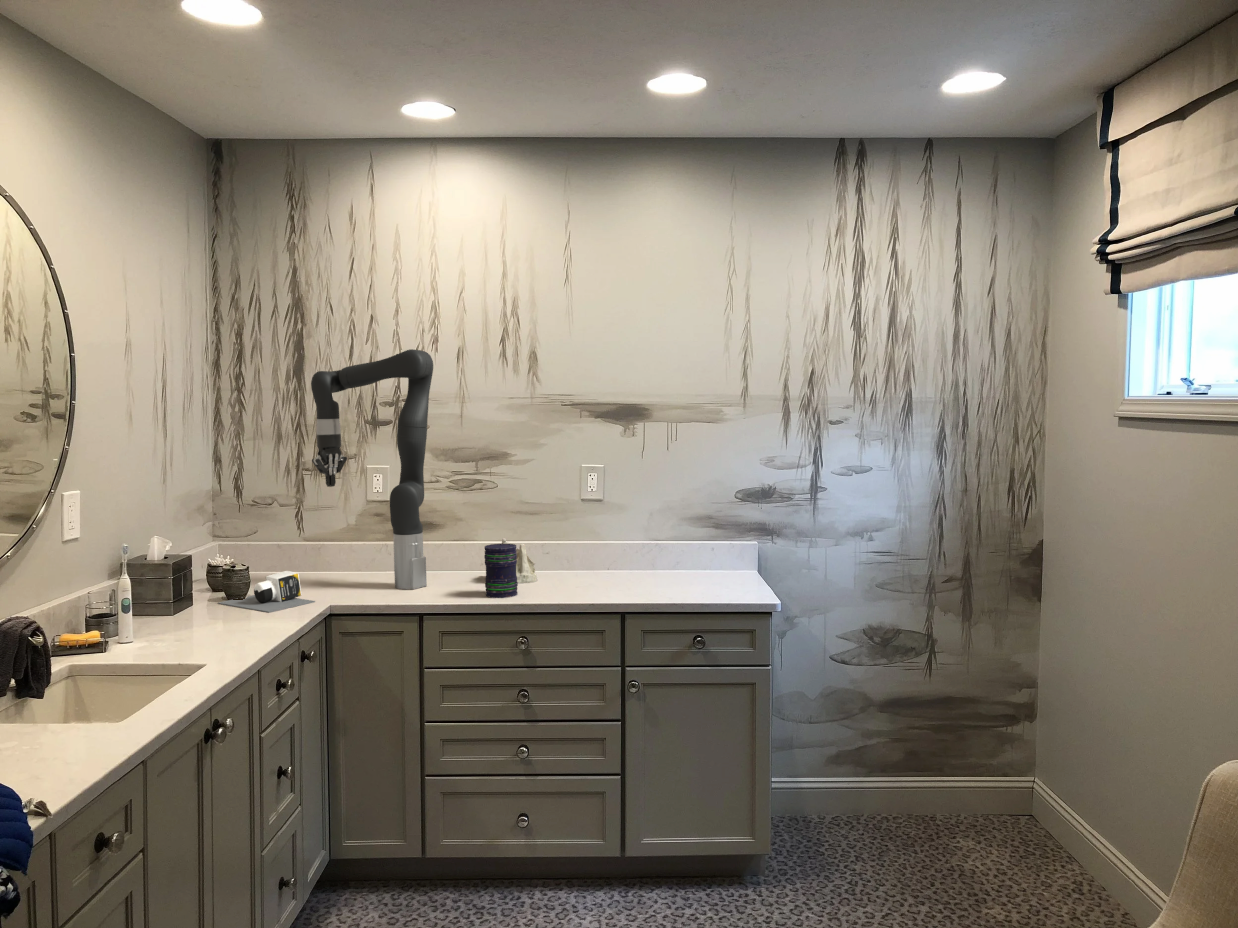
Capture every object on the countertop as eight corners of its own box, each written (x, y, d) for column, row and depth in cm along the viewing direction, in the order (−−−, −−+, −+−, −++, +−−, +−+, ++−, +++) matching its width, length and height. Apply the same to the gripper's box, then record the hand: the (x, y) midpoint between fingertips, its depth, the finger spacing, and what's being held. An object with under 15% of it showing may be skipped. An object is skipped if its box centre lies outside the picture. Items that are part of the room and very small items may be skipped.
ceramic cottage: (540, 582, 305) (537, 535, 305) (489, 587, 301) (486, 540, 301) (531, 576, 320) (528, 532, 320) (483, 581, 316) (479, 537, 316)
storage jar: (517, 597, 283) (516, 548, 282) (484, 598, 282) (482, 548, 281) (518, 590, 293) (517, 543, 291) (486, 591, 292) (485, 543, 291)
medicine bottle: (302, 595, 285) (265, 607, 276) (290, 592, 290) (253, 603, 281) (298, 572, 284) (261, 583, 275) (286, 570, 288) (249, 580, 280)
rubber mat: (315, 601, 281) (315, 600, 281) (269, 612, 267) (268, 611, 267) (264, 593, 294) (264, 592, 294) (217, 603, 280) (217, 602, 280)
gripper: (320, 434, 298) (322, 488, 299) (352, 432, 309) (354, 485, 310) (304, 433, 302) (306, 487, 303) (337, 432, 313) (339, 484, 314)
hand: (330, 486), depth 307 cm, fingers closed
